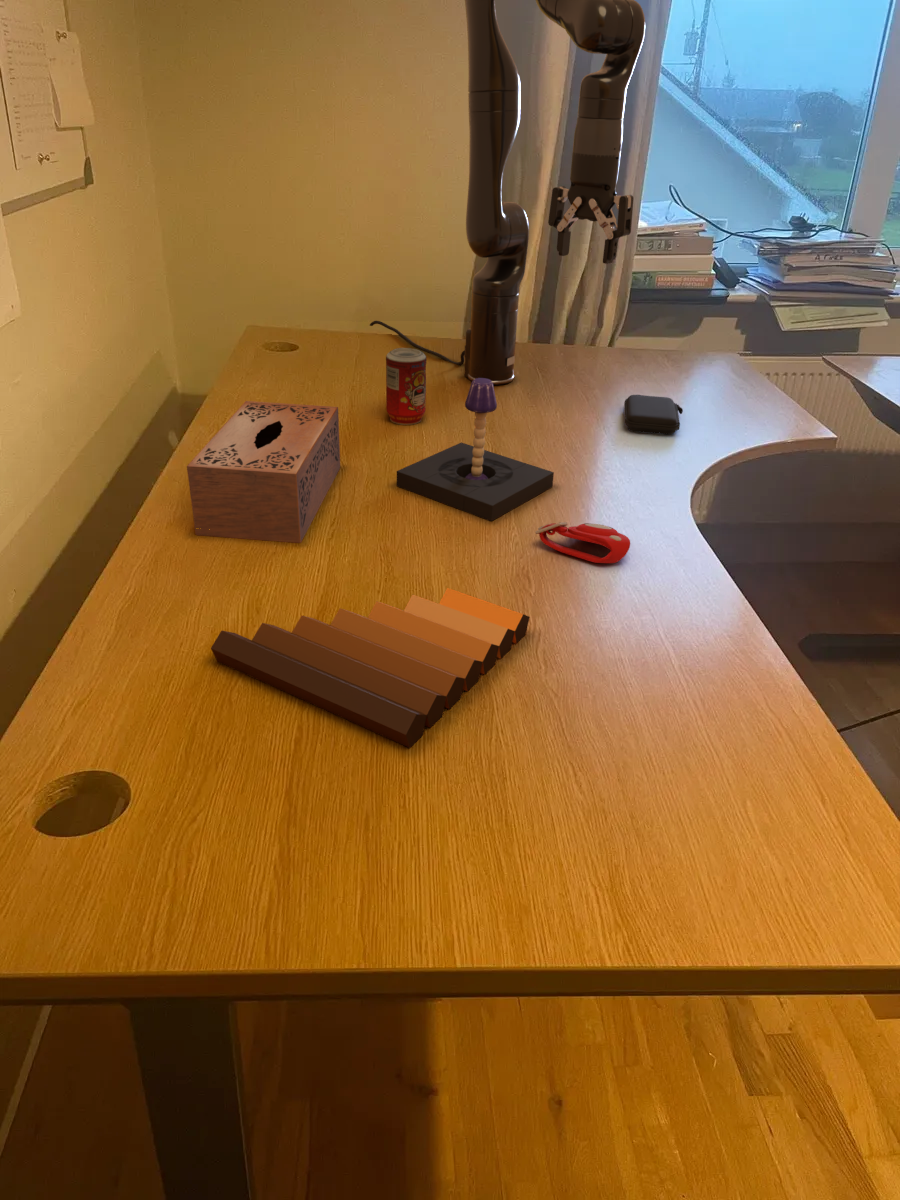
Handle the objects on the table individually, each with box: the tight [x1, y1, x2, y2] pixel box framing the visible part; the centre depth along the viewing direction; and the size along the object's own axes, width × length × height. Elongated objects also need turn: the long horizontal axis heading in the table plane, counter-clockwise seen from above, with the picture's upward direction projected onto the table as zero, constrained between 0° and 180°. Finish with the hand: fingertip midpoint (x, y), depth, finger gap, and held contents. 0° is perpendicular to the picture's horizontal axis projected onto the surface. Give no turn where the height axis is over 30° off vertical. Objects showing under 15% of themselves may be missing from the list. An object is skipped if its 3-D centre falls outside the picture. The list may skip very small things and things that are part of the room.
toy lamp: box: [464, 378, 498, 480], centre depth 132 cm, size 5×5×17 cm
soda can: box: [385, 347, 427, 426], centre depth 157 cm, size 7×7×12 cm
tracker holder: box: [534, 522, 631, 564], centre depth 119 cm, size 12×4×10 cm
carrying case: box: [623, 394, 684, 435], centre depth 163 cm, size 11×3×15 cm
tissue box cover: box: [186, 400, 341, 544], centre depth 128 cm, size 26×14×10 cm, turn 174°
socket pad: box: [396, 441, 555, 522], centre depth 136 cm, size 18×16×2 cm
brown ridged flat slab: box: [210, 587, 531, 749], centre depth 98 cm, size 25×3×25 cm
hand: (585, 259), depth 148 cm, fingers open, 8 cm apart
